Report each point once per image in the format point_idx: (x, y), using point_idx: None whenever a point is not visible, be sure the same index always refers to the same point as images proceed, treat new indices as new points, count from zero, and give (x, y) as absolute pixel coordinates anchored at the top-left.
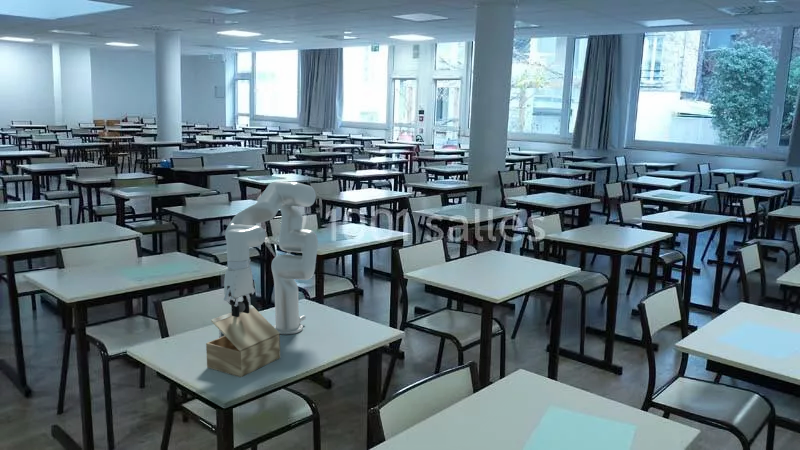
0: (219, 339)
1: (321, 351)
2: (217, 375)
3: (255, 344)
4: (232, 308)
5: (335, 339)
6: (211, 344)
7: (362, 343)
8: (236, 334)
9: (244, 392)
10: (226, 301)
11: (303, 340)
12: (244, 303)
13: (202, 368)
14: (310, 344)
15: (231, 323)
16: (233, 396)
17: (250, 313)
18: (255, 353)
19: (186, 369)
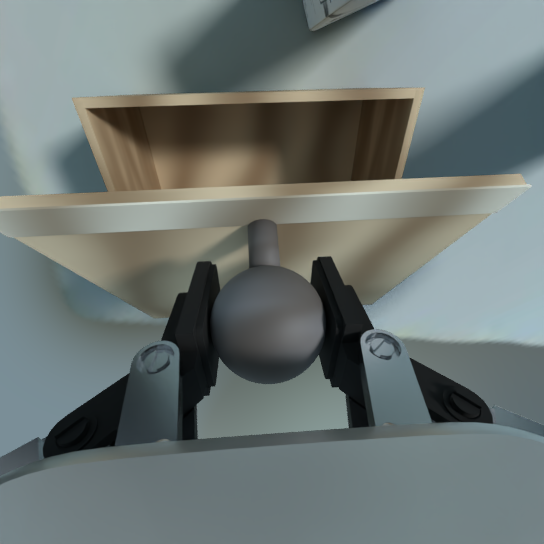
0: (180, 104)
1: (426, 296)
2: None
3: (366, 150)
4: (168, 338)
5: (525, 273)
6: (92, 148)
7: (499, 329)
8: (172, 293)
9: (135, 318)
10: (19, 450)
11: (509, 205)
12: (329, 349)
13: (111, 82)
14: (474, 245)
15: (178, 259)
16: (103, 315)
17: (392, 236)
18: None
19: (39, 13)
